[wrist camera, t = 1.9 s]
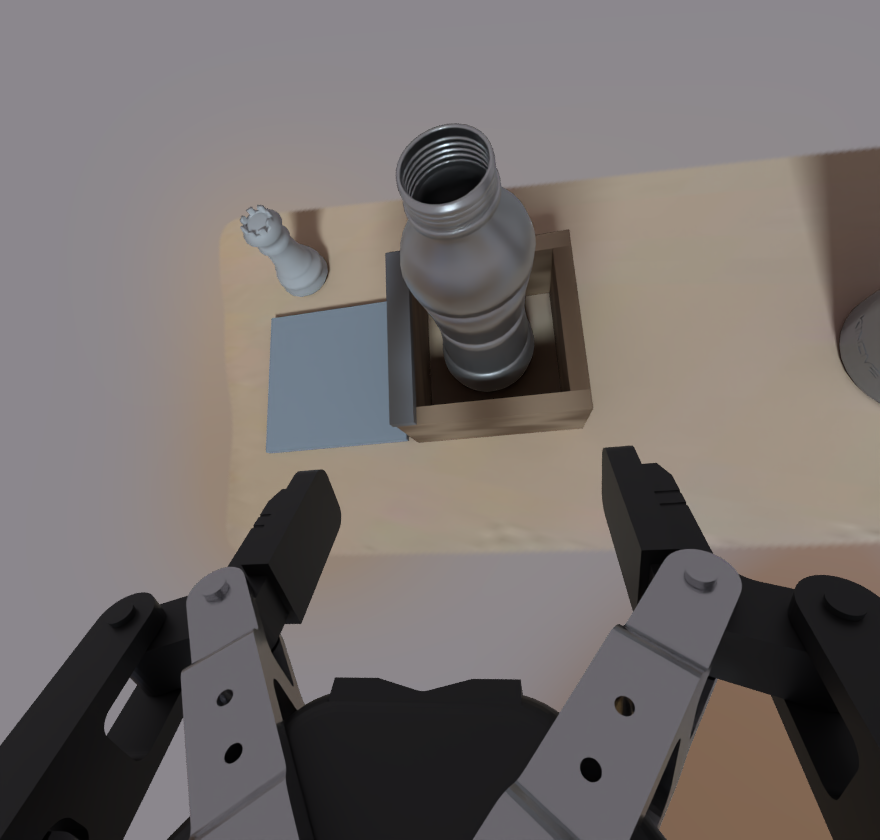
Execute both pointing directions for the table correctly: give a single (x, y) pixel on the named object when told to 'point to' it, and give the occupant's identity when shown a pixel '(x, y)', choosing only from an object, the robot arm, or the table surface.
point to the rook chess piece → (284, 252)
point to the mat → (329, 380)
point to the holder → (493, 415)
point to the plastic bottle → (467, 254)
